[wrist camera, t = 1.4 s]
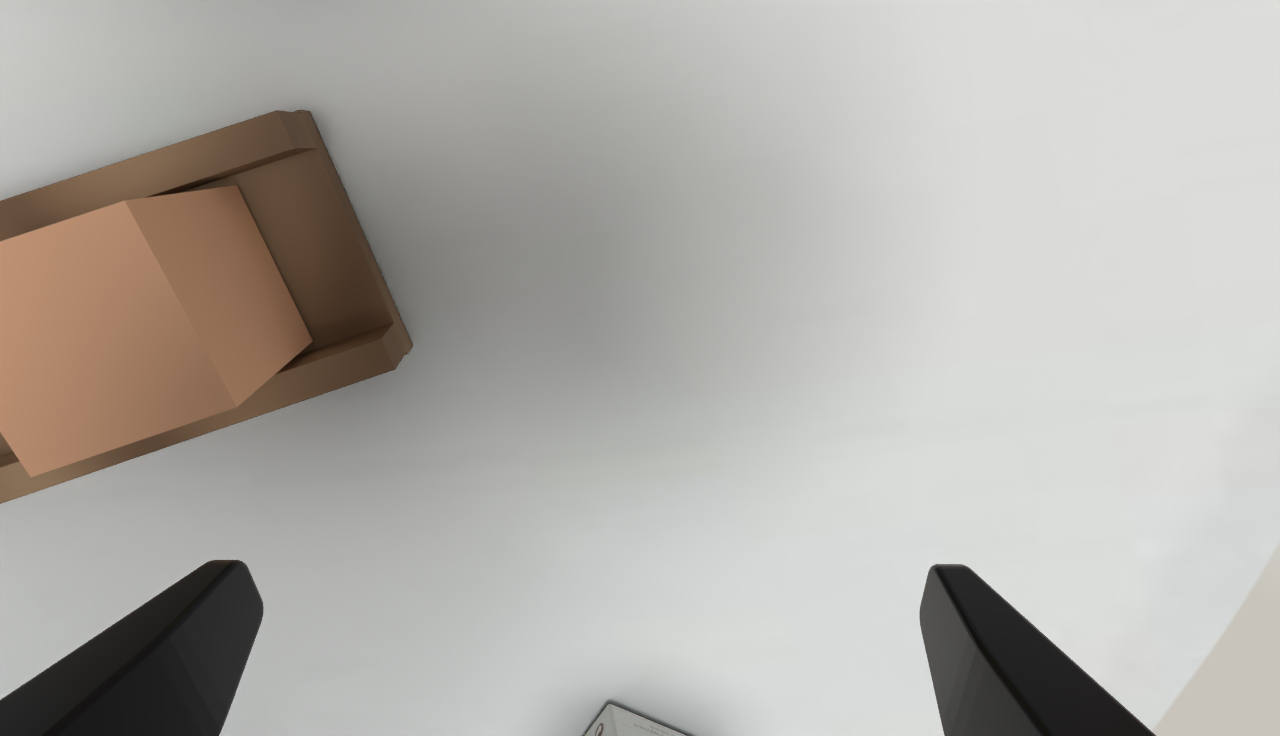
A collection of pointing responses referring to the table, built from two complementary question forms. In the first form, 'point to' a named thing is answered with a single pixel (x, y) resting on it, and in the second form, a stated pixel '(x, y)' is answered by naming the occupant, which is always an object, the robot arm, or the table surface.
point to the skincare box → (626, 725)
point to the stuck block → (137, 324)
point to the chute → (296, 238)
